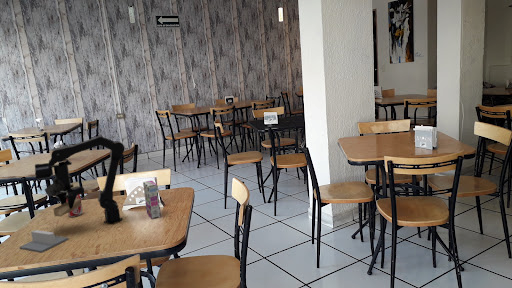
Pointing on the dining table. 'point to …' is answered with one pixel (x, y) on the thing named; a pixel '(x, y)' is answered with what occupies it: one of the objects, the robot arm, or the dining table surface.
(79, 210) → the soda can
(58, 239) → the fulcrum stand
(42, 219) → the dining table surface
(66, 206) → the oak batten
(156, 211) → the candy bar box
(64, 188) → the robot arm
